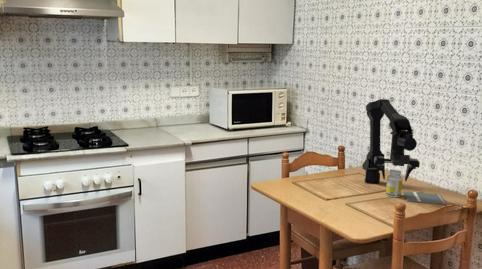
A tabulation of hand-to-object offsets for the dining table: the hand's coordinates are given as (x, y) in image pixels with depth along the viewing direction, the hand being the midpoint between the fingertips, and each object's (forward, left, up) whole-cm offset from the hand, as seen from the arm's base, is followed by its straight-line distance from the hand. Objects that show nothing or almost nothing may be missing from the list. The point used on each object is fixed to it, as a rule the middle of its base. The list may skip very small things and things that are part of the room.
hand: (394, 180), depth 208 cm
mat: (+13, 0, -7) cm, 15 cm away
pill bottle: (0, 0, -7) cm, 7 cm away
